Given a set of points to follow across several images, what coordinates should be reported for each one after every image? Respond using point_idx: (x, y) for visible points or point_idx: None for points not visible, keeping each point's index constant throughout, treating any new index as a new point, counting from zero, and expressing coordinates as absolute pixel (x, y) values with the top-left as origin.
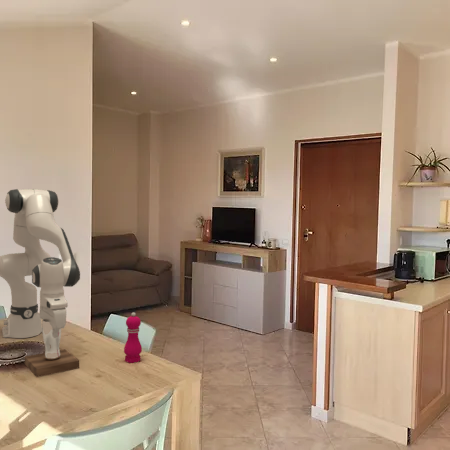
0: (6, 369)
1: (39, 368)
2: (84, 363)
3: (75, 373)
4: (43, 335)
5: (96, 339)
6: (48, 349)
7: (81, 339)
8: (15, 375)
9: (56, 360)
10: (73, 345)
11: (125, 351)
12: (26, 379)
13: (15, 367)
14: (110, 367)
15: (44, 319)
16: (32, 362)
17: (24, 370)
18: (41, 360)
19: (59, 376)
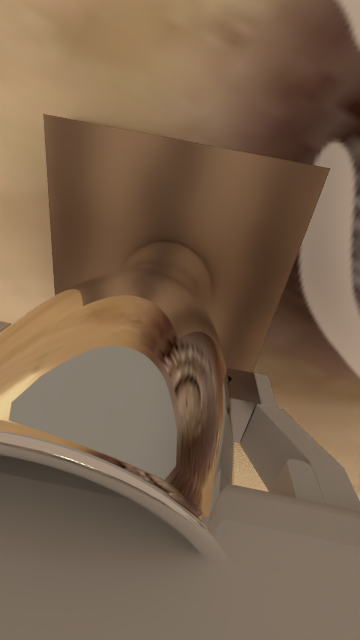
0: (328, 8)
1: (48, 135)
2: None
3: (25, 291)
4: (121, 277)
5: None
6: (128, 267)
7: (355, 488)
8: (174, 13)
9: None
10: (325, 444)
11: None
12: (67, 47)
13: (308, 91)
14: None
15: (191, 528)
16: (179, 153)
17: (215, 115)
18: (175, 219)
19: (23, 223)
